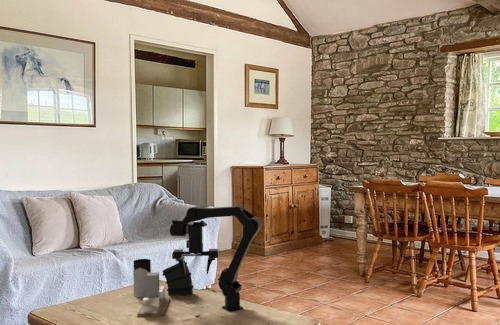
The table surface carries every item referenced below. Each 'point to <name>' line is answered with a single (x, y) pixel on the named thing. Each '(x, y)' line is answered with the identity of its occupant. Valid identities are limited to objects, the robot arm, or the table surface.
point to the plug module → (152, 285)
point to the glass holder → (141, 276)
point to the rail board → (160, 312)
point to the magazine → (178, 280)
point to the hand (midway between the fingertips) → (195, 274)
